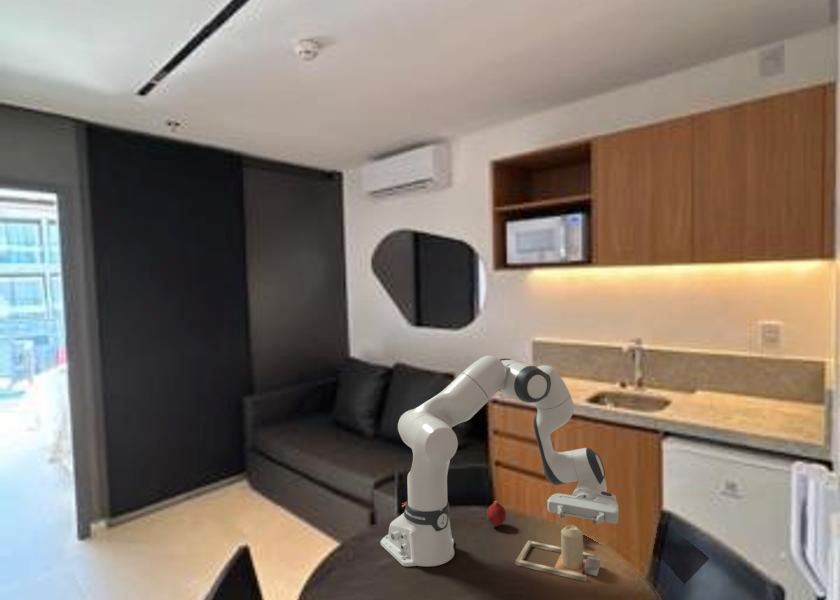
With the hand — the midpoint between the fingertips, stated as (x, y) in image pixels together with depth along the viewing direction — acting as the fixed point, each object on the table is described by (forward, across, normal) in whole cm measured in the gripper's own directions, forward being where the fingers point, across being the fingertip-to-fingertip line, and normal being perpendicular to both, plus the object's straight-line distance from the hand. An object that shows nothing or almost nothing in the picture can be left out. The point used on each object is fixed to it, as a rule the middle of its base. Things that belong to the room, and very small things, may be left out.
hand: (577, 519), depth 144 cm
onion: (-2, -25, +8) cm, 26 cm away
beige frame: (+11, -3, +8) cm, 14 cm away
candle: (+11, 0, +8) cm, 13 cm away
